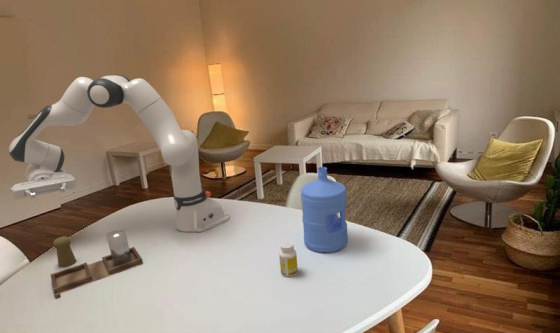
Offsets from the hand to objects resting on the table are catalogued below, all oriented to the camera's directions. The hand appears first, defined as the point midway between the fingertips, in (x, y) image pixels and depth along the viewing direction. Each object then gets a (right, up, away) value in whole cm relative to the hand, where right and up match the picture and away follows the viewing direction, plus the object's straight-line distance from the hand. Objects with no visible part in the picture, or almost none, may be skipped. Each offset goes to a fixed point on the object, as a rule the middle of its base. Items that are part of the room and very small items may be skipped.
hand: (48, 193), depth 139 cm
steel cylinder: (+28, -24, -4) cm, 37 cm away
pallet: (+22, -27, -8) cm, 35 cm away
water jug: (+99, -18, 0) cm, 101 cm away
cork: (+8, -26, -1) cm, 27 cm away
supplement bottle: (+86, -24, -16) cm, 91 cm away
